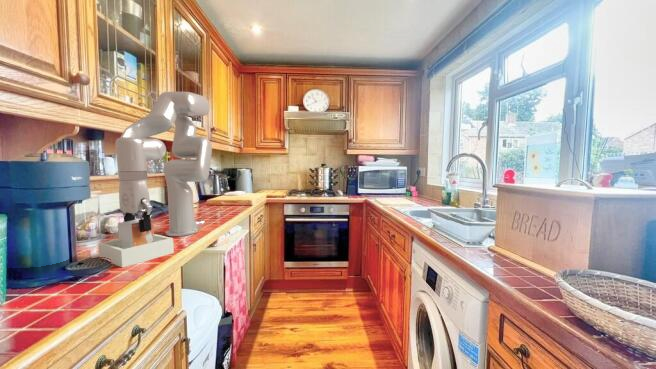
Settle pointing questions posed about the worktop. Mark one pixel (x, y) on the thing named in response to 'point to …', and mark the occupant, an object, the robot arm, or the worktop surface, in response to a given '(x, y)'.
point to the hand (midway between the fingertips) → (137, 229)
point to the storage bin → (136, 251)
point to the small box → (133, 234)
